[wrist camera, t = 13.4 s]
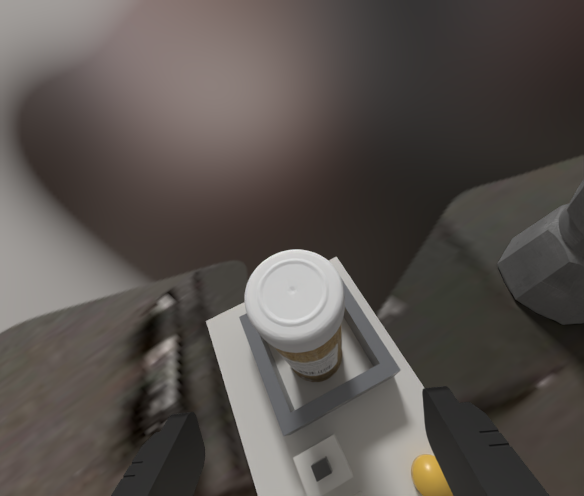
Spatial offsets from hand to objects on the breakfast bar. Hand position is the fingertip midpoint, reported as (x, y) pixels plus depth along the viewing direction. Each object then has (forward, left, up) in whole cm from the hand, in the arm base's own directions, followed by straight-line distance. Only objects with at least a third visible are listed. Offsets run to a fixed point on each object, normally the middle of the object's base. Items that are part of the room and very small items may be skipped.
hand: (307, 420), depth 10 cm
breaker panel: (-1, 0, -15) cm, 15 cm away
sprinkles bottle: (-2, -5, -14) cm, 14 cm away
